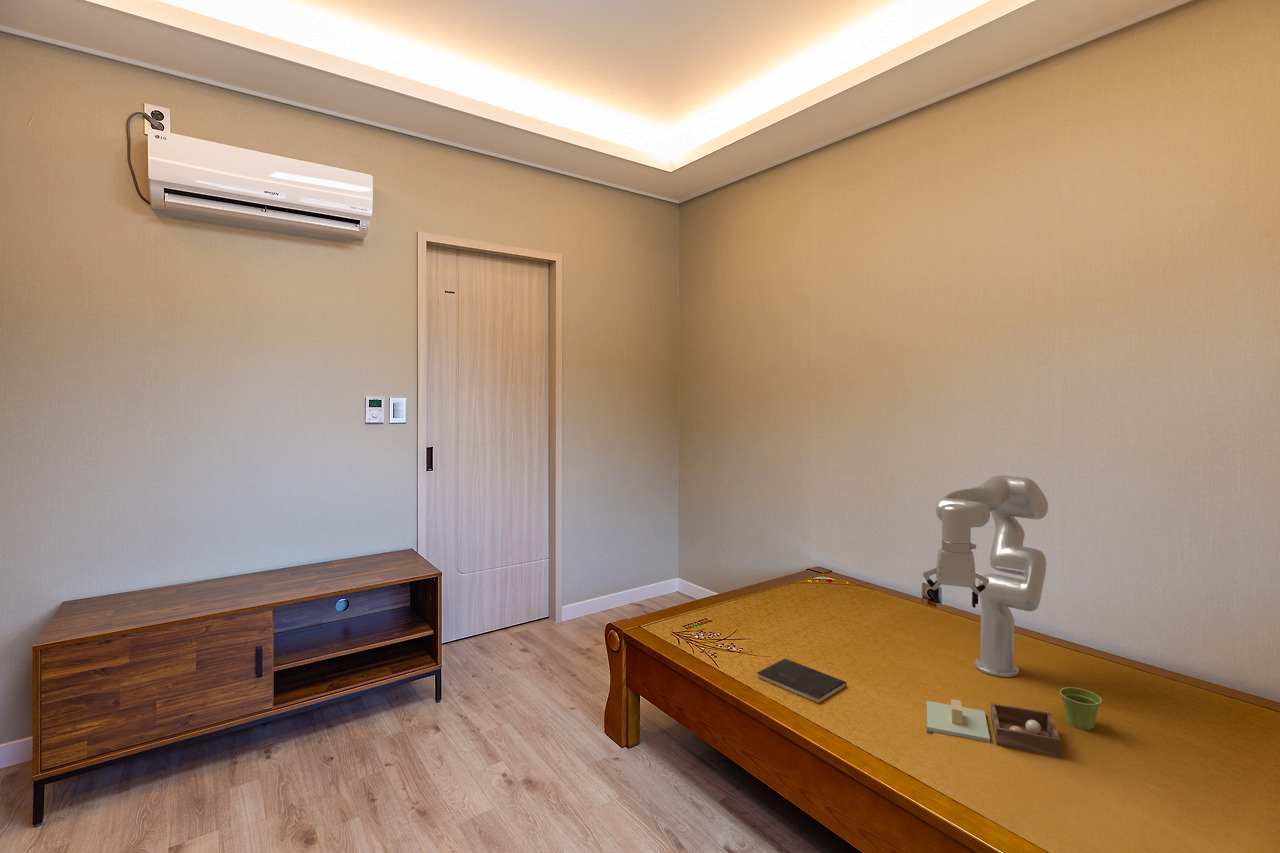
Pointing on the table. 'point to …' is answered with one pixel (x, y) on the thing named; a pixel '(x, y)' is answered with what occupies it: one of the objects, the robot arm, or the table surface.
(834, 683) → the hardcover book
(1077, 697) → the plant pot
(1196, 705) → the table surface
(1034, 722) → the cream ball
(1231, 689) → the table surface
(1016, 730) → the terracotta ball
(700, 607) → the table surface
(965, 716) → the lid
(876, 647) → the table surface
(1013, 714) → the walnut box
